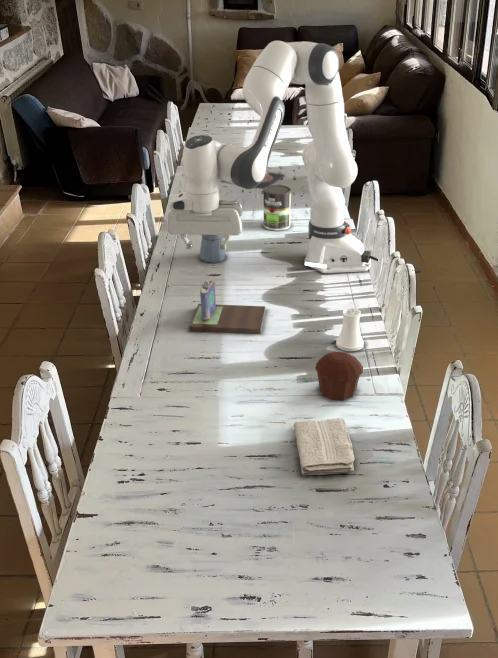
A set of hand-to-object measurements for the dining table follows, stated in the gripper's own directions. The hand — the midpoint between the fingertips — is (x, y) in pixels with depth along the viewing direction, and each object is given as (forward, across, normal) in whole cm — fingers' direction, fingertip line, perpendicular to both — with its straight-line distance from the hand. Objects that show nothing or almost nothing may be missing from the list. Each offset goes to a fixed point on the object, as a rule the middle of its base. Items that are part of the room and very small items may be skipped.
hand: (206, 248), depth 200 cm
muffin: (+22, -37, +36) cm, 56 cm away
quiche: (+22, +1, -131) cm, 133 cm away
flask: (+20, +1, +1) cm, 20 cm away
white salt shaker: (+22, -40, +13) cm, 48 cm away
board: (+22, -5, +1) cm, 22 cm away
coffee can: (+22, -14, -74) cm, 79 cm away
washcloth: (+22, -34, +60) cm, 72 cm away
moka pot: (+22, +6, -43) cm, 48 cm away
